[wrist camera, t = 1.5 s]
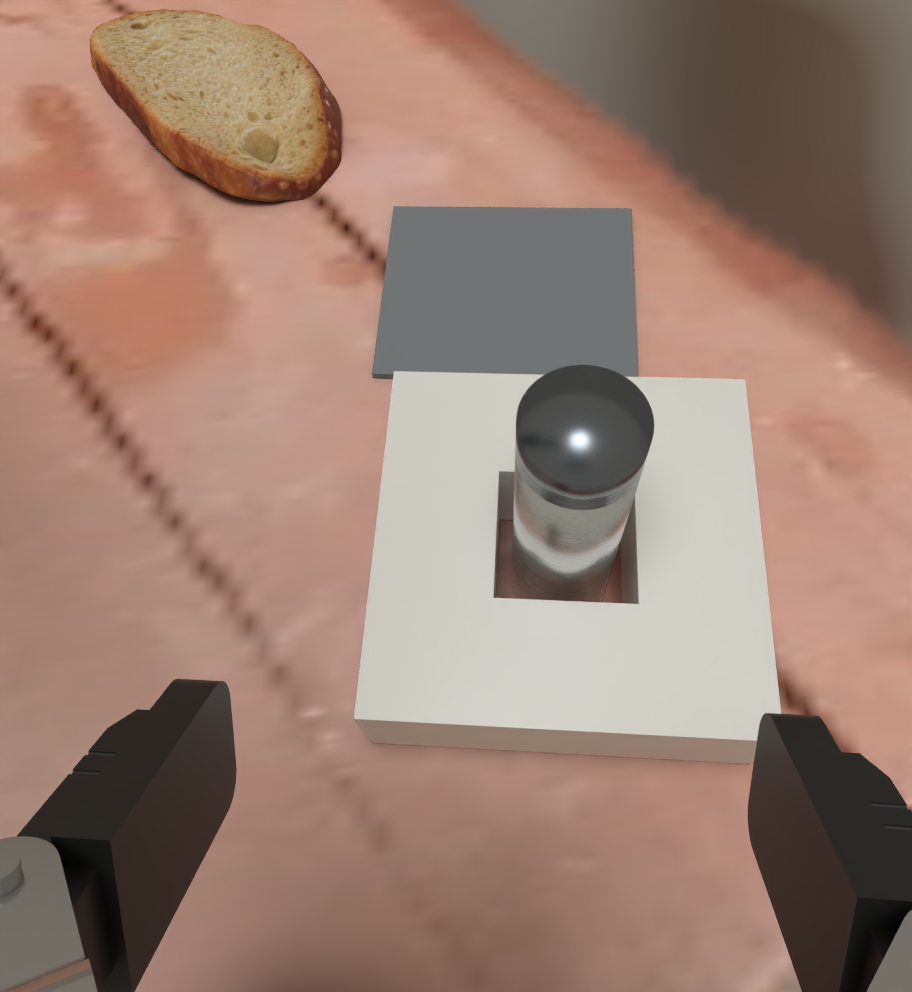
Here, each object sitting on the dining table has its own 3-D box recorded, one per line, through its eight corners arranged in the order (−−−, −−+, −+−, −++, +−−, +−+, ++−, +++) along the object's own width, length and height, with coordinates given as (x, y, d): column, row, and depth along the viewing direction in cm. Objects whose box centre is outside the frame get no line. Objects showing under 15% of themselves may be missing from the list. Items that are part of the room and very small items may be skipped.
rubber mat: (373, 377, 45) (372, 373, 45) (394, 211, 50) (393, 206, 50) (637, 384, 44) (638, 379, 44) (630, 213, 49) (631, 208, 49)
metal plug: (510, 620, 39) (513, 479, 26) (513, 533, 41) (518, 363, 28) (606, 625, 38) (657, 484, 26) (605, 536, 40) (651, 366, 28)
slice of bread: (102, 34, 60) (78, -18, 57) (352, 20, 59) (343, -33, 56) (50, 222, 52) (19, 174, 49) (339, 209, 51) (327, 159, 48)
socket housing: (372, 742, 36) (353, 718, 32) (405, 426, 44) (393, 371, 39) (748, 763, 35) (784, 742, 31) (719, 435, 42) (745, 379, 38)
